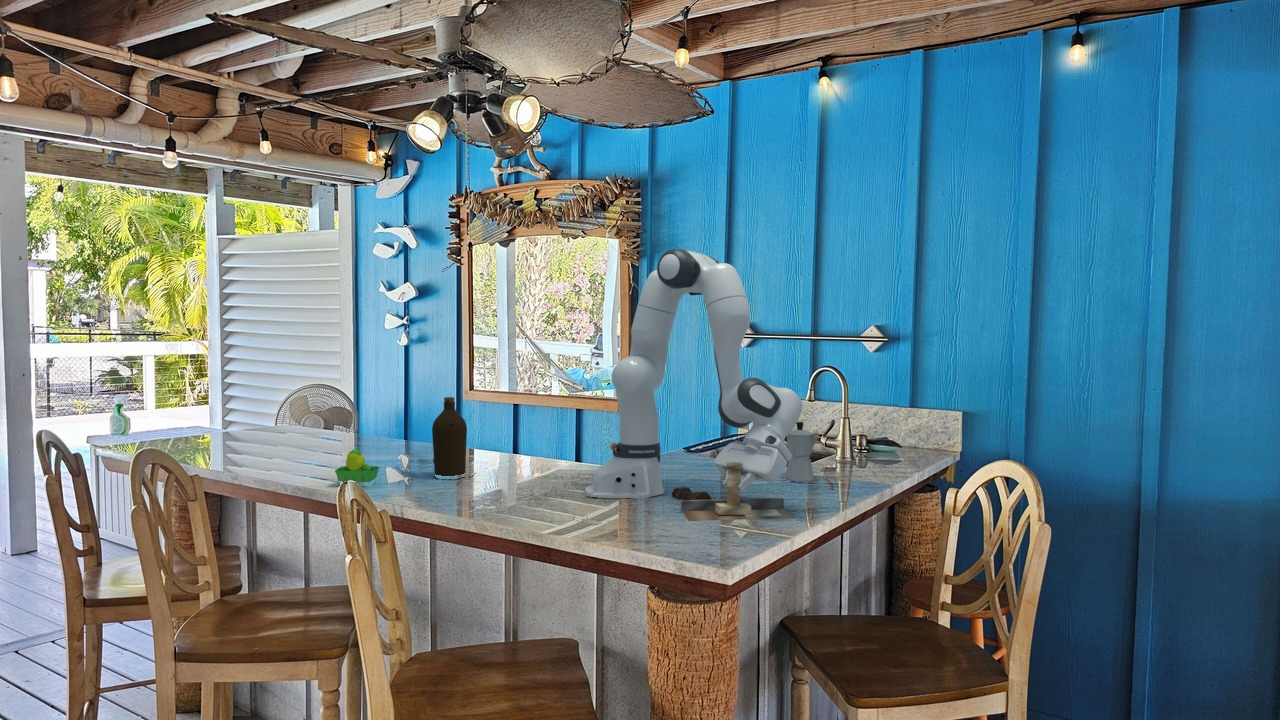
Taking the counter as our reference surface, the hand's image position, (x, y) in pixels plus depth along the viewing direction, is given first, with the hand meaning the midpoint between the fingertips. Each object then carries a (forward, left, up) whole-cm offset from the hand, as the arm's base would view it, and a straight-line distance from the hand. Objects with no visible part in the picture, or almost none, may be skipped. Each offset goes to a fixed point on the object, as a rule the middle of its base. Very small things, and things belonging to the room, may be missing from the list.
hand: (732, 487), depth 203 cm
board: (+1, 0, -8) cm, 8 cm away
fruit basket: (-101, +55, -8) cm, 115 cm away
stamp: (0, 0, -6) cm, 6 cm away
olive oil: (-75, +65, -8) cm, 100 cm away
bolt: (-8, +17, -8) cm, 20 cm away
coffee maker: (+31, +48, -8) cm, 58 cm away
